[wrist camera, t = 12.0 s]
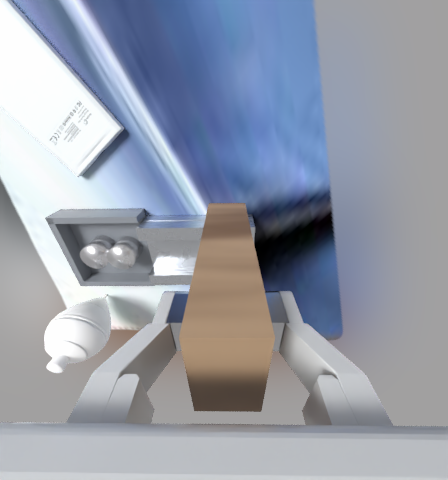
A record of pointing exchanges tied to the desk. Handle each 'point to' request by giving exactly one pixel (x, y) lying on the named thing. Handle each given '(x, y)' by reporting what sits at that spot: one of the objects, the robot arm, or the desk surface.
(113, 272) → the tray
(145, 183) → the desk surface
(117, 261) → the silver metal ball
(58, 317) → the white vase
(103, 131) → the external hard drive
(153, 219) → the slot block
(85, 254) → the shiny gray ball
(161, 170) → the desk surface
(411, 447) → the robot arm
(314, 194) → the desk surface
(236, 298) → the tan long rectangular block
